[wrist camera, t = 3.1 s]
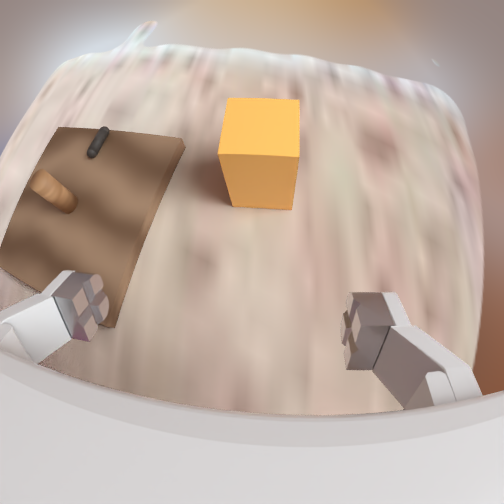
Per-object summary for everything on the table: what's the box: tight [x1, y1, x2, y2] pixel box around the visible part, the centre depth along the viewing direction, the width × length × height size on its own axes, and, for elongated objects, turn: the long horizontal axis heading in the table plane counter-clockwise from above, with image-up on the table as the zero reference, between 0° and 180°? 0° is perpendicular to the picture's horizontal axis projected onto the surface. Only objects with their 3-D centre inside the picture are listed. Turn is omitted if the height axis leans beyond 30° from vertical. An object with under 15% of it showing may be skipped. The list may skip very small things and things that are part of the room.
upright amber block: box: [218, 98, 299, 210], centre depth 22 cm, size 5×5×8 cm
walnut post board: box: [0, 127, 185, 328], centre depth 23 cm, size 18×18×7 cm
